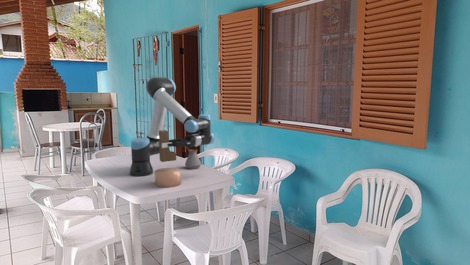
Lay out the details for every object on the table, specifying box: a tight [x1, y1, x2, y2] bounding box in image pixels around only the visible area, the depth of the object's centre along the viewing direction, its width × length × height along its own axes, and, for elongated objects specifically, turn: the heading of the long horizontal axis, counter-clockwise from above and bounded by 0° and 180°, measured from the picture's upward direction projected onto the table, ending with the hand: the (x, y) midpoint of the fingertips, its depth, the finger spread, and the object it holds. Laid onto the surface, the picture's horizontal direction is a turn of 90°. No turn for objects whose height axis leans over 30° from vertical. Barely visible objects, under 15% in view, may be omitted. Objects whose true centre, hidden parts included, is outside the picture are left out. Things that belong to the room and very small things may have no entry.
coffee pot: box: [183, 146, 202, 170], centre depth 246 cm, size 21×12×15 cm, turn 30°
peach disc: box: [154, 167, 182, 188], centre depth 203 cm, size 15×15×8 cm
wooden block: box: [159, 129, 177, 163], centre depth 200 cm, size 9×4×18 cm, turn 120°
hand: (159, 145), depth 197 cm, fingers closed on wooden block, 5 cm apart
